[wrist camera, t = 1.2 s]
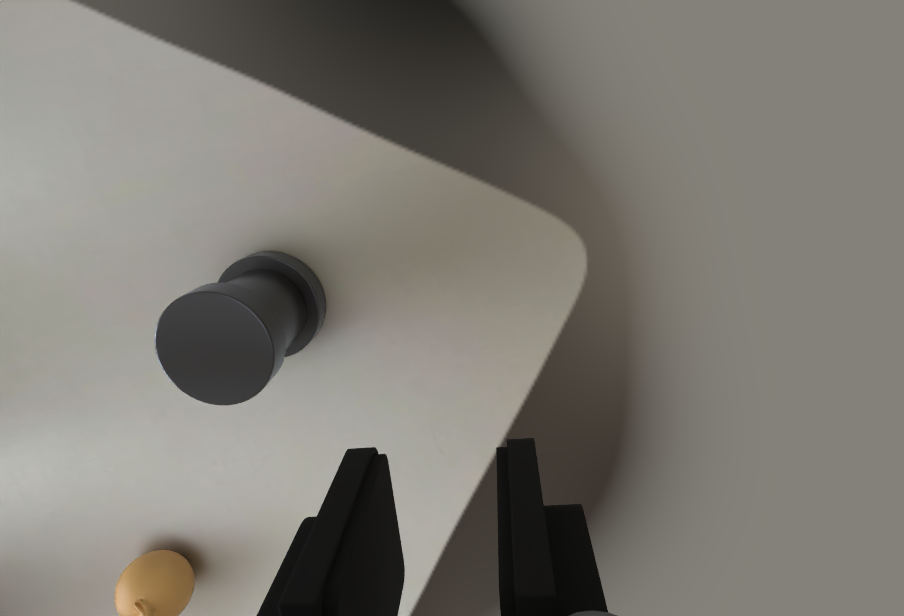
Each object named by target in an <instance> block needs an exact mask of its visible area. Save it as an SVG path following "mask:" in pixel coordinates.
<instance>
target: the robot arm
mask: <svg viewBox="0 0 904 616" xmlns="http://www.w3.org/2000/svg"><path fill="white" fill-rule="evenodd" d="M497 497H498V498H497V499H498V500H497V502H498V555H499V556H498V557H499V594H500V609H501V616H616V615H613V614H611V613H608V610H607V606H606V602H605V598H604V593H603V589H602V586H601V581H600V577H599V573H598V569H597V565H596V561H595V556H594V552H593V549H592V545H591V540H590V536H589V532H588V528H587V524H586V519H585V516H584V511H583V508H582V505H581V504H571V505H552V506H551V505H550V506H543V499H542V492H541V484H540V477H539V471H538V463H537V456H536V449H535V442H534V438H526V439H508V440H507V447H497ZM404 571H405V570H404V559H403V553H402V547H401V540H400V534H399V528H398V521H397V515H396V509H395V502H394V496H393V490H392V483H391V477H390V471H389V464H388V459H387V456H386V454H378V451H377V449H376V448H375V447H373V448H356V449H348V450H347V451H346V453H345V455H344V457H343V460H342V462H341V464H340V466H339V468H338V471H337V473H336V475H335V477H334V480H333V482H332V484H331V486H330V488H329V491H328V493H327V495H326V497H325V500H324V502H323V504H322V506H321V508H320V511H319V513H318V515H317V517H307V518H306V519H304V520H303V522H302V523H301V525H300V527H299V529H298V531H297V533H296V535H295V537H294V539H293V542H292V544H291V546H290V548H289V550H288V552H287V554H286V556H285V558H284V560H283V562H282V564H281V566H280V569H279V571H278V573H277V575H276V577H275V579H274V581H273V583H272V585H271V587H270V589H269V591H268V593H267V596H266V598H265V600H264V602H263V604H262V606H261V608H260V610H259V612H258V614H257V616H398V610H399V605H400V600H401V595H402V590H403V584H404Z"/></svg>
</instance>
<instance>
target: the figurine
mask: <svg viewBox="0 0 904 616" xmlns="http://www.w3.org/2000/svg"><path fill="white" fill-rule="evenodd" d="M193 589H194V573H193V570H192V567H191V565H190V564H189V562H188V561H187V560H186V559H185V558H184V557H183V556H182V555H180V554H178V553H176V552H174V551H170V550H155V551H151V552H148V553H145V554H143V555H141V556H139V557H138V558H136V559H135V560H134V561H132V562H131V563H130V564H129V565H128V566H127V567H126V568H125V570H124V571H123V572H122V574H121V576H120V578H119V580H118V582H117V585H116V588H115V596H114V599H115V606H116V609H117V612H118V613H119V615H120V616H178V615H179V614H180V613H181V612H182V611H183V610H184V609H185V607H186V606H187V604H188V602H189V601H190V598H191V596H192V593H193Z"/></svg>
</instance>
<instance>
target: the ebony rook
mask: <svg viewBox="0 0 904 616" xmlns="http://www.w3.org/2000/svg"><path fill="white" fill-rule="evenodd" d="M325 312H326V302H325V296H324V292H323V289H322V287H321V284H320V282H319V281H318V279H317V277H316V276H315V275H314V273H313V272H312V271H311V270H310V269H309V268H308V267H307V266H306V265H305V264H304V263H302V262H301V261H299V260H298V259H296V258H294V257H292V256H290V255H287V254H284V253H280V252H273V251H264V252H257V253H254V254H251V255H249V256H247V257H245V258H243V259H241V260H239V261H237V262H235V263H234V264H232V265H231V266H230V267H229V268H228V269H226V270H225V272H224V273H223V274H222V276H221V277H220V279H219V281H218V283H211V284H206V285H203V286H200V287H198V288H196V289H194V290H192V291H190V292H189V293H187V294H185V295H183V296H181V297H179V298H178V299H176V300H175V301H173V302H172V303H171V304H170V305H169V306H168V307H167V308H166V309H165V310H164V312H163V313H162V315H161V317H160V319H159V321H158V324H157V327H156V332H155V348H156V353H157V357H158V360H159V362H160V364H161V366H162V369H163V370H164V372H165V373H166V375H167V376H168V378H169V379H170V380H171V381H172V382H173V383H174V384H175V385H176V386H177V387H178V388H179V389H180V390H182V391H183V392H184V393H186V394H187V395H189V396H191V397H193V398H195V399H197V400H199V401H202V402H205V403H209V404H214V405H233V404H238V403H242V402H244V401H247V400H249V399H251V398H252V397H254V396H256V395H257V394H258V393H259V392H261V390H262V389H263V388H264V387H265V386H266V385H267V384H268V383H269V381H270V380H271V379H272V378H273V377H274V376H275V375H276V373H277V372H278V370H279V369H280V367H281V365H282V363H283V360H284V357H287V356H291V355H293V354H295V353H297V352H299V351H300V350H302V349H303V348H304V347H305V346H307V344H308V343H309V342H310V341H311V340H312V339H313V338H314V336H315V335H316V334H317V333H318V331H319V330H320V328H321V326H322V324H323V321H324V318H325Z"/></svg>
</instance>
